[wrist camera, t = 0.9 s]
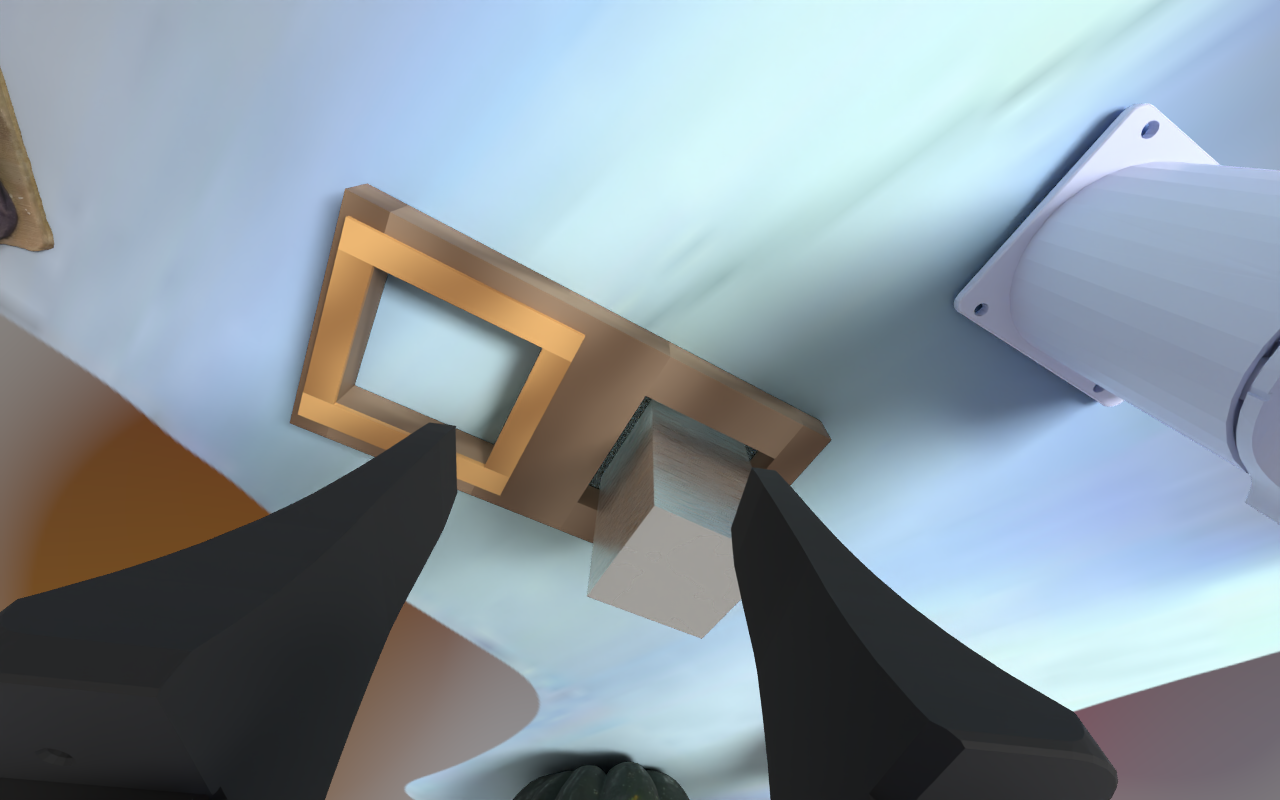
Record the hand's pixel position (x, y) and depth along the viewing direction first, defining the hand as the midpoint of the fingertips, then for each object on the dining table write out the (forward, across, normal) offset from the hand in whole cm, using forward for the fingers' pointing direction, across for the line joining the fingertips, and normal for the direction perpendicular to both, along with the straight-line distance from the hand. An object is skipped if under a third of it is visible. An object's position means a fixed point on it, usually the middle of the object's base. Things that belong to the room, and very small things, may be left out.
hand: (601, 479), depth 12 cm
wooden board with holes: (+10, +2, +4) cm, 11 cm away
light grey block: (+10, -3, +6) cm, 12 cm away
